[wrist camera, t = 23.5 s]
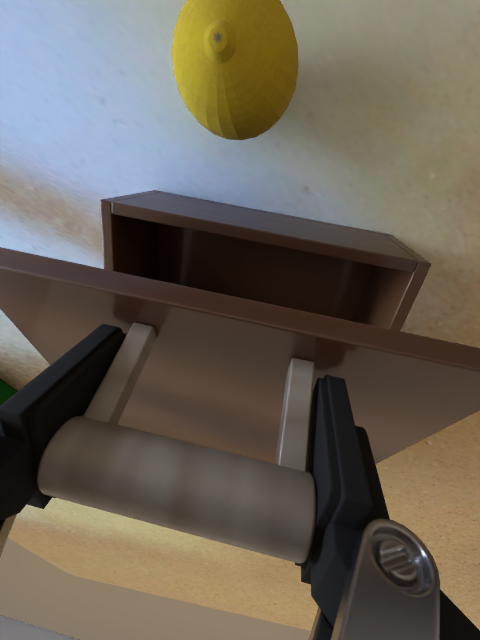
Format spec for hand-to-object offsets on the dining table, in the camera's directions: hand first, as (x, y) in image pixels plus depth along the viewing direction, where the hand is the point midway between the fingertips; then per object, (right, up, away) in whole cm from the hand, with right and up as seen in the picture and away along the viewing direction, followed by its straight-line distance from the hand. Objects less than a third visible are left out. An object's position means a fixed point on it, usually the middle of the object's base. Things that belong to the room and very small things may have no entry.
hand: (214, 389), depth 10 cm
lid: (0, -2, +5) cm, 6 cm away
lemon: (+1, +16, +8) cm, 18 cm away
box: (+2, +3, +14) cm, 14 cm away
